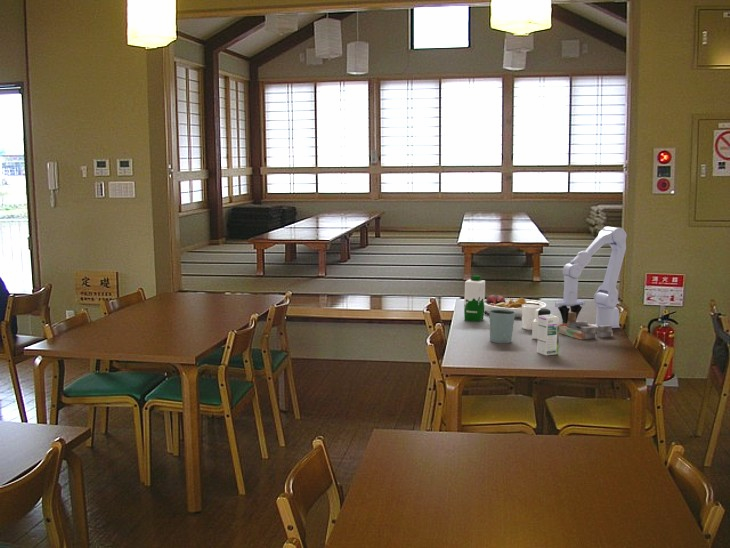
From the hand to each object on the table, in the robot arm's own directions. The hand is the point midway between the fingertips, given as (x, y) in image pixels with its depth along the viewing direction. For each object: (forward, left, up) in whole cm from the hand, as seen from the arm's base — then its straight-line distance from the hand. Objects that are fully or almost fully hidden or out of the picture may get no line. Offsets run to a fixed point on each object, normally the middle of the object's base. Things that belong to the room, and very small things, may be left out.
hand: (569, 322), depth 350 cm
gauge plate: (+3, +8, -3) cm, 9 cm away
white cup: (+15, -7, -3) cm, 17 cm away
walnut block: (0, 0, -2) cm, 2 cm away
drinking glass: (+41, +10, -3) cm, 42 cm away
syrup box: (+37, +35, -3) cm, 51 cm away
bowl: (0, -41, -3) cm, 42 cm away
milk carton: (+28, -33, -3) cm, 43 cm away
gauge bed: (0, +6, -3) cm, 6 cm away
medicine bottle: (+22, +11, -3) cm, 25 cm away
